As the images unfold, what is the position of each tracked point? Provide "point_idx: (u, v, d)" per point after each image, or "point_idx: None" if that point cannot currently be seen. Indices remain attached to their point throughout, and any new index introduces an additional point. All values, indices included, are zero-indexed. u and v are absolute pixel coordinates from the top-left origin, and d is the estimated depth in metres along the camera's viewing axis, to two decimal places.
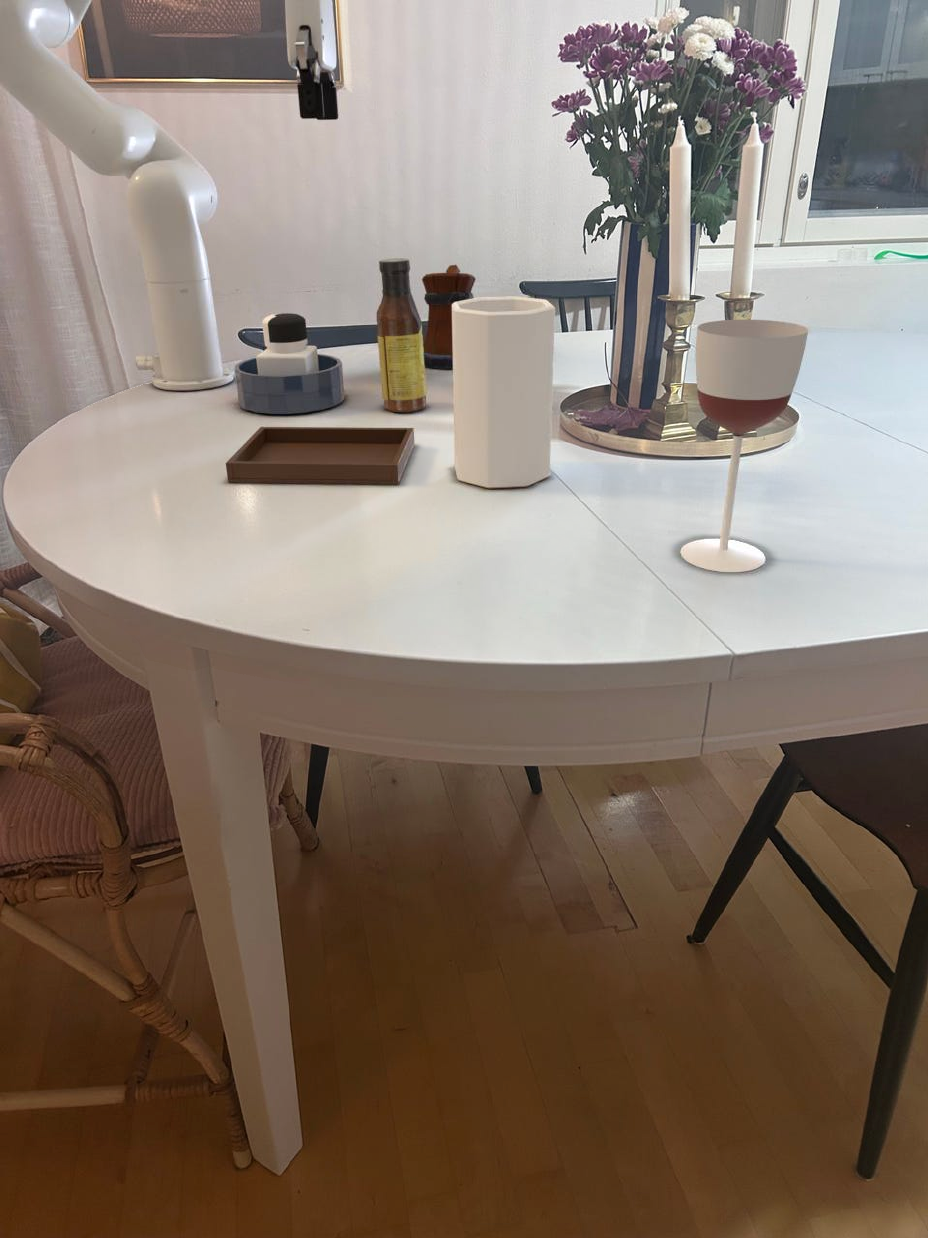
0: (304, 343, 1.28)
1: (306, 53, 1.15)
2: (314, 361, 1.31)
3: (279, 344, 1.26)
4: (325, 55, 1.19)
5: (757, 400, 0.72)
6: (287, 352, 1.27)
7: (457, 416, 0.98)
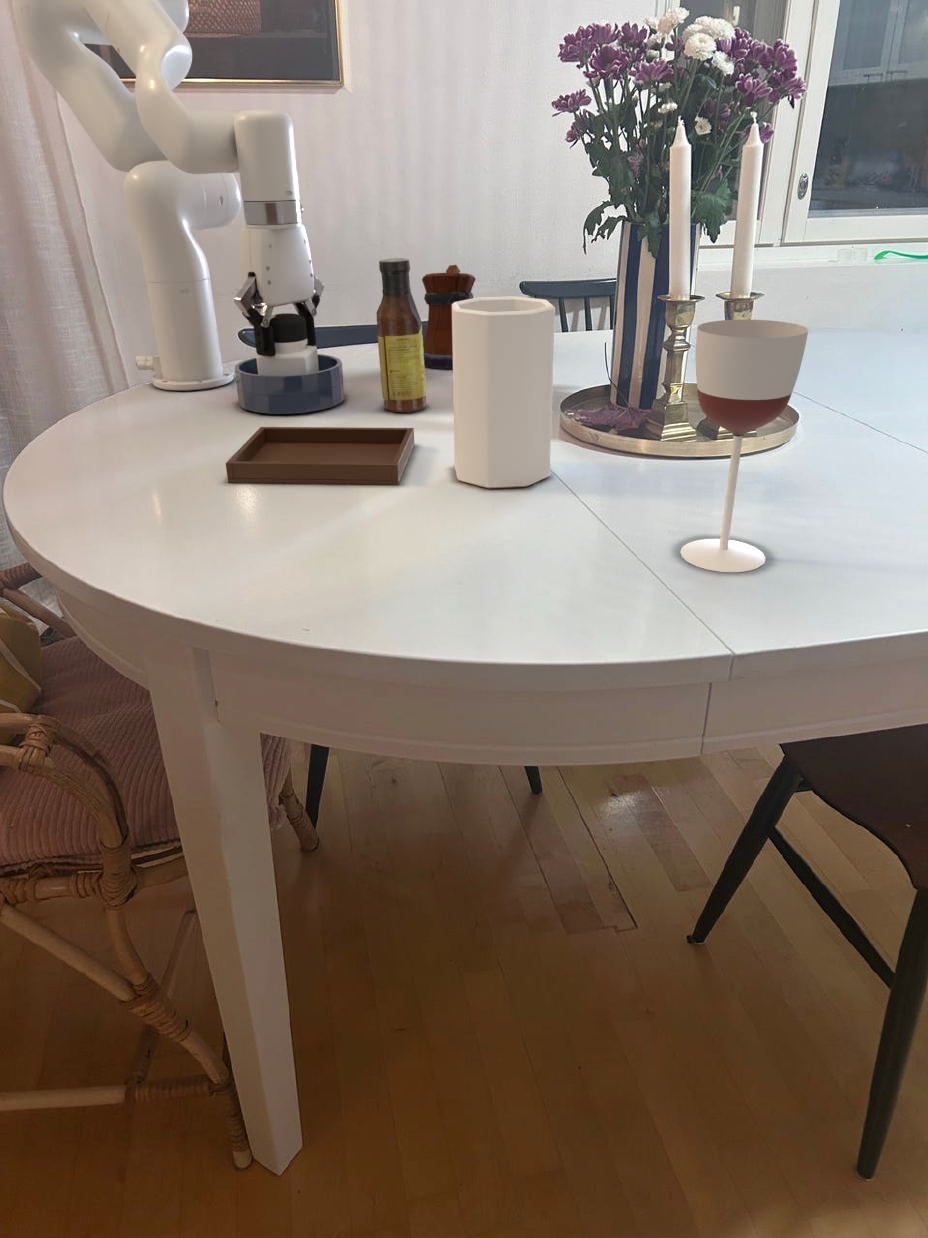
0: (304, 343, 1.28)
1: (246, 306, 1.20)
2: (314, 361, 1.31)
3: (279, 344, 1.26)
4: (274, 297, 1.22)
5: (757, 400, 0.72)
6: (287, 352, 1.27)
7: (457, 416, 0.98)
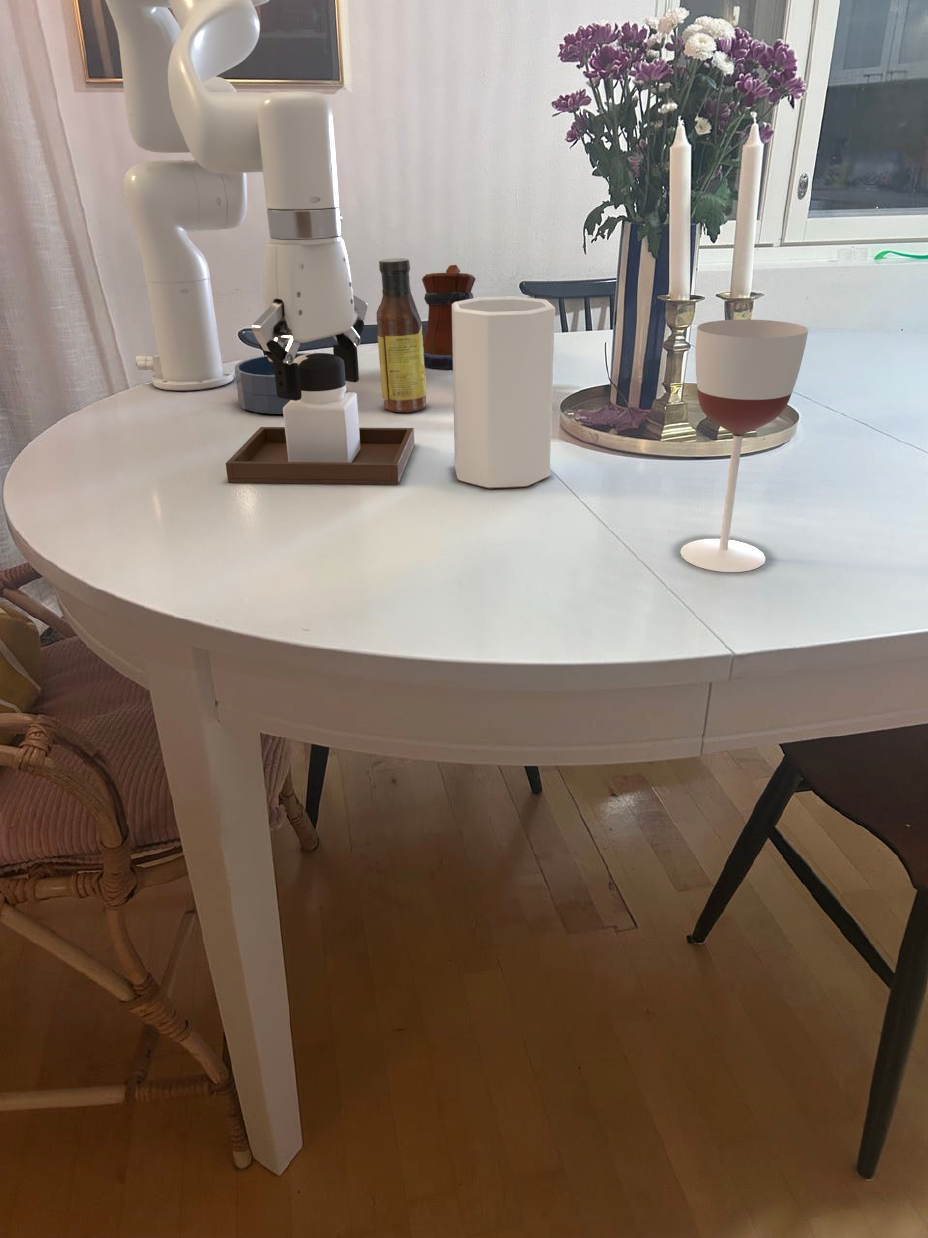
0: (342, 391, 1.02)
1: (266, 336, 0.94)
2: (354, 412, 1.05)
3: (312, 393, 1.01)
4: (307, 330, 0.96)
5: (757, 400, 0.72)
6: (321, 402, 1.01)
7: (457, 416, 0.98)
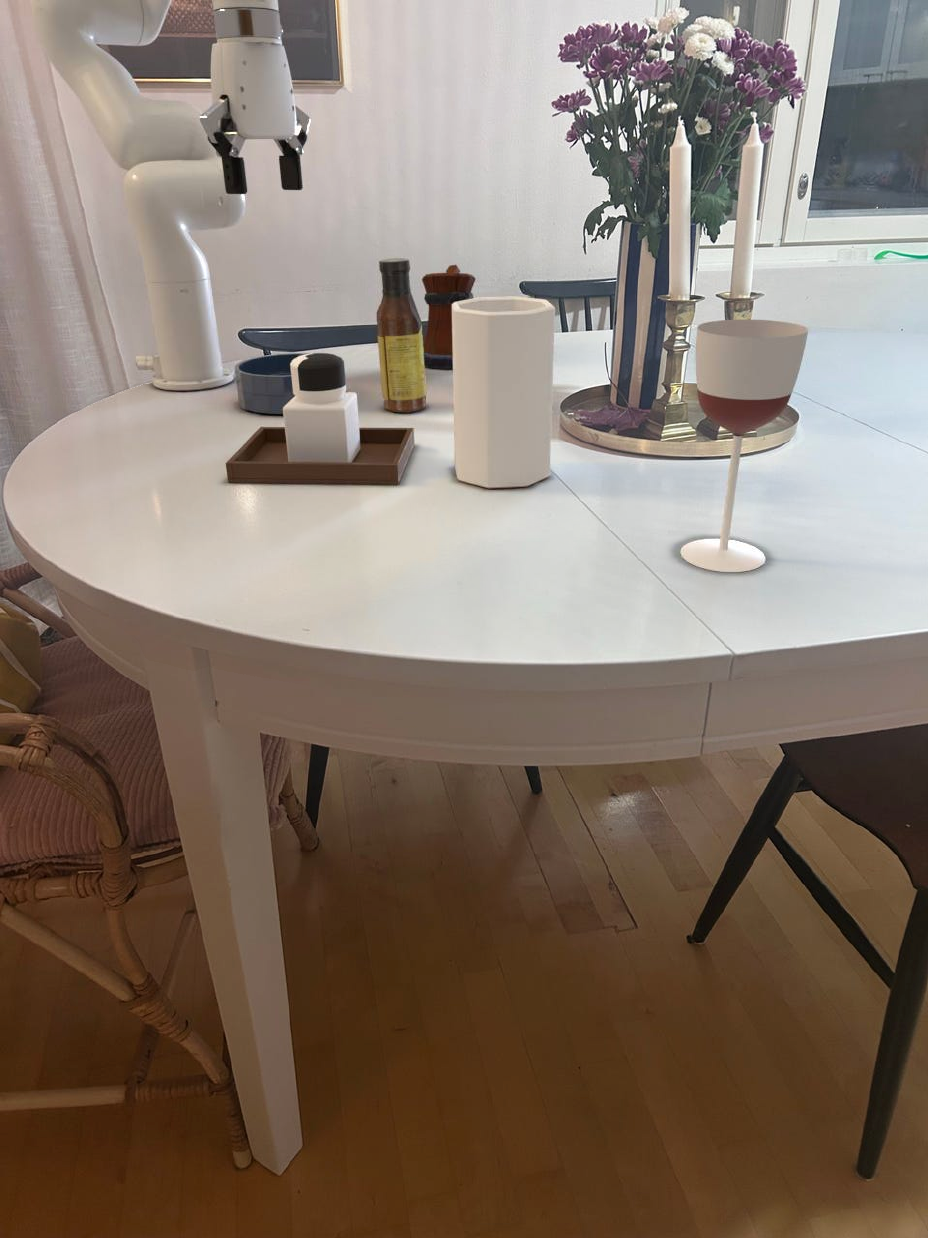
0: (342, 391, 1.02)
1: (213, 126, 1.05)
2: (354, 412, 1.05)
3: (312, 393, 1.01)
4: (250, 126, 1.07)
5: (757, 400, 0.72)
6: (321, 402, 1.01)
7: (457, 416, 0.98)
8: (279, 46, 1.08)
